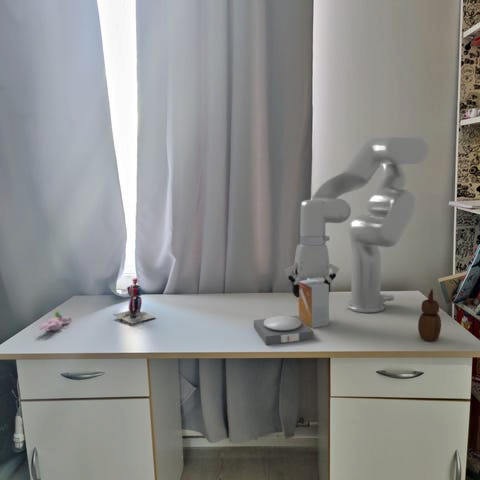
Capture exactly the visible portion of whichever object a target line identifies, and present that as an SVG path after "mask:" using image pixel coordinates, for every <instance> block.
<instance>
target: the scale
mask: <svg viewBox="0 0 480 480" xmlns="http://www.w3.org/2000/svg"><path fill="white" fill-rule="evenodd" d="M253 329H254V331H255V332H257V333H256V334H258V335H259V337H260V338H261V340H262V342H263V343H264V344H265V345H266V346H269V345H278V344H285V343H293V342H294V343H295V342H305V341H310V340H311V341H312V340H314V330H313V328H311V327H310V326H308V325H307V324H305V323H304V322H303V321H302V320H301V319H300V318H299V315H293V316H292V315H291V316H289V315H288V316H286V315H279V316H278V315H276V316H272V317H269V318H263V319H254V320H253Z"/></svg>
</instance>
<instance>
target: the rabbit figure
mask: <svg viewBox="0 0 480 480" xmlns="http://www.w3.org/2000/svg"><path fill="white" fill-rule="evenodd" d="M54 316H55V318H50V319H48V320H47V321H46V322H45V323H44V322H43V323H42V324H39V330H40V331H41V330H43V329H44V331H46V330H49V331H53V332H54V331H55V332H56V331H58V330H60V329H62V328H63V326H66V325H68V324H69V323H71V322H72V321H73V320H72V317H71V316H68V317H66V316H62V314H60V311H59V310H57V311H56V312H55V313H54Z"/></svg>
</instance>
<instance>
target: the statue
mask: <svg viewBox="0 0 480 480" xmlns="http://www.w3.org/2000/svg"><path fill="white" fill-rule="evenodd" d="M137 283H138V278H137V277H134V278H133V279H132V284H131V285H129V286H127V287H126V288H127V294H128V295H129V297H130V298H129V301H128V310H127V311H124V312H118V313H113V314H112V316H114V317H116V318H117V319H119V321H120V322H122V321H123V323H124V324H128V325H129V326H137V324H138V323H146V322H147V320H152V319H153V320H155V319H156V316H155V315H152V314H150V313H148V312H146V311H144V310H143V311H141V309H142V297H141V295H142V286H141V285H138V284H137Z"/></svg>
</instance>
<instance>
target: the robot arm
mask: <svg viewBox="0 0 480 480" xmlns="http://www.w3.org/2000/svg"><path fill="white" fill-rule="evenodd" d="M428 155H429V145H428V143H427V141H426V140H425V139H424V138H422V137H421V136H414V137H413V136H409V137H407V136H406V137H402V136H401V137H400V136H399V137H397V136H396V137H395V136H392V137H391V136H389V137H386V136H385V137H371V138H369V139H367V140H366V141H365V142H363V143H362V145H361V146H360V147H359V149H358V151H357V152H356V154H355V155H354V156H353V157H352V159H351V160H350V162H349V163H348V164H347V165H346V167H345V168H344V169H343V170H341V171H339V172H338V173H336V174H335V175H333V176H331V178H329V179H327V180H326V181H325V182H323V183H322V184H321V185H320V186H319V187H318V188H317V189H316V191H315V192H314V194H313V195H312V196H311V198H310V199H305V200H303V201H301V204H300V224H299V225H300V231H299V232H300V233H299V235H300V237H299V239H300V240H299V244H297V245H296V248H295V249H296V250H295V255H294V256H295V257H294V263H293V264H292V265H291V266H289V267H287V268H285V269H284V270H283V271H284V273H285V274H284V275H286V277H287V279H288V280H289V281H290V282H291V283H292V294H293V295H294V297H296V298H299V281H302V279H319V278H322V279H324V281H323V282H324V283H326V284H328V285H329V293H330V292H331V283H332V282H333V280H334V279H335V278H336V277H337V274H338V272H339V271H340V268H339V267H337V266H336V265H334V264H332V263H330V257H329V250H328V249H329V248H328V245H327V244H326V243H327V242H329V241H330V236H329V235H328V236H327V235H326V224H327V223H328V224H341V223H345V222H346V221H347V220H348V219H349V218H350V216H351V212H352V207H351V206H350V204H349V203H348V202H347V201H346V200H344V199H342V198H341V199H340V198H339V197H340V196H342V195H345V194H347V193H351V192H354V191H358V190H359V189H362V188H364V187H365V186H367V185H368V183H369V182H370V181H371V179H372V178H373V176H374V175H375V173H376V172H377V170H378V169H379V168H380V167H381V176H379V180H378V181H377V183H376V185H375V187H374V189H373V190H372V192H371V193H370V196H369V197H368V200H367V203H366V209H367V211H368V212H369V214H359V215H358V214H357V215H356V216H354V217H353V218H351V220H350V222H349V223H348V224H349V225H348V236H349V241H350V247H351V274H350V275H351V281H350V282H351V283H350V284H351V287H350V288H351V293H350V297H351V298H350V300H348V301H347V302H346V308H347V309H348V310H350V311H353V312H357V313H364V314H367V313H368V314H369V313H371V314H372V313H378V312H382V311H383V310H385V308H386V307H385V306H386V305H385V302H391V301H394V299H395V298H394V295H393V294H388V295H387V294H386V293H384V294H382V293H381V280H382V279H381V278H382V275H381V273H382V255H381V251H380V247H383V248H391V247H394V246H395V245H397V244H398V243H399V242H400V240H401V238H402V236H403V235H404V233H405V231H406V230H407V227H408V225H409V223H410V222H411V219H412V217H413V216H414V213H415V210H416V205H417V202H416V201H417V200H416V197H415V195H414V194H413V192H411V191H410V190H408V189H404V188H405V186H406V183H407V178H406V174H405V171H404V169H403V166H402V165H412V164H413V165H414V164H415V165H417V164H421V163H422V162H424V161H425V160H426V159H427V157H428ZM330 269H331V270H332V272H330ZM292 272H293V273H294V276H292V274H291V273H292Z"/></svg>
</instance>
